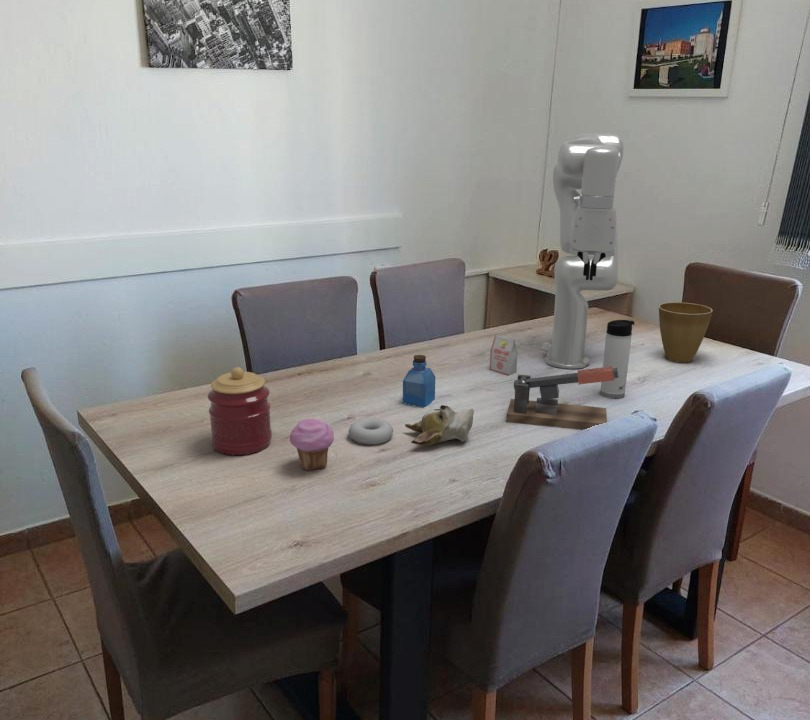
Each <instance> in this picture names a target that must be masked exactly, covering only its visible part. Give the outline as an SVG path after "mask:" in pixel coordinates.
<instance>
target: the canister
mask: <svg viewBox="0 0 810 720" xmlns="http://www.w3.org/2000/svg"><path fill="white" fill-rule="evenodd" d="M210 383H211V384H210V388H211V390H210V391H209V392H208V394H207V399H208V401H210V407H209V408H208V413H209V418H210V420H209V421H210V429H211V430H210V431H211V434H210V438H211V440H210V441H211V443H212V447H213V449H214V448H215V449H216V450H215V449H214V450H215V451H217V452H218V451H219V453H220V452H221V453H220V454H223V453H225V455H228V454H229V455H231V456H242V455H243V456H245V455H250V454H254V453H257V452H260V450H261V451H263V450H265V449H266V448H267V447H268V446H270V444H271V441H272V437H273V433H272V428H271V427H272V425H271V412H270V411H271V403H270V402H269V401H268V397H269V395H270V392H271V391H270V389H269V388H268V387H267V386H265V383H266V381H265V379H264V378H263V377H262V376H260V375H257V374H256V373H255V372H252V371H251V372H250V371H244V369H242V368H241V367H239V366H237V367H234V368H232V369H231V371H230V372H226V373H223V374H221V375H219V376H218V377H217V378H215V379H214V380H213V381H212V382H210ZM264 448H265V449H264Z"/></svg>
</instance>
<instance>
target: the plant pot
mask: <svg viewBox="0 0 810 720" xmlns="http://www.w3.org/2000/svg"><path fill="white" fill-rule="evenodd" d="M712 314H713V309H712V308H711V307H709V306H707V305H704V304H698V303H691V302H690V303H689V302H674V301H673V302H663V303H661V304H659V305H658V318H659V320H658V321H659V322H658V323H659V330H660V338H661V343H662V347H663V351H664V354H665V358H666V359H667V360H668V361H671V362H673V363H674V362H675V363H681V364H684V363H691V362H692V361H693V359H694V358H695V356H696V355H697V354H698V353H697V352H698V350H699V348H700V347H701V345H702V343H703V340H704V338H705V335H706V332H707V330H708V328H709V324H710V322H711V318H712Z"/></svg>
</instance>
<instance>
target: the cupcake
mask: <svg viewBox="0 0 810 720" xmlns="http://www.w3.org/2000/svg"><path fill="white" fill-rule="evenodd" d="M334 434H335V433H334V430H333V428H332V426H331V425H330V424H329V423H328V422H326V421H323V420H321V419H318V418H306V419H303V420H300V421H299V422H297V424H296V425H295V426H294V427H293V429H292V430H291V431H290V434H289V442H290V444H291V445H292V446H293V447H295V448H296V451H297V454H298V458H299V462H300V465H301V467H302V468H303V470H306V471H310V470H316V469H322V468H326V467H327V465H328V451H329V448H330V447H331V446H332V444H333V443H334V441H335V436H334Z"/></svg>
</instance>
